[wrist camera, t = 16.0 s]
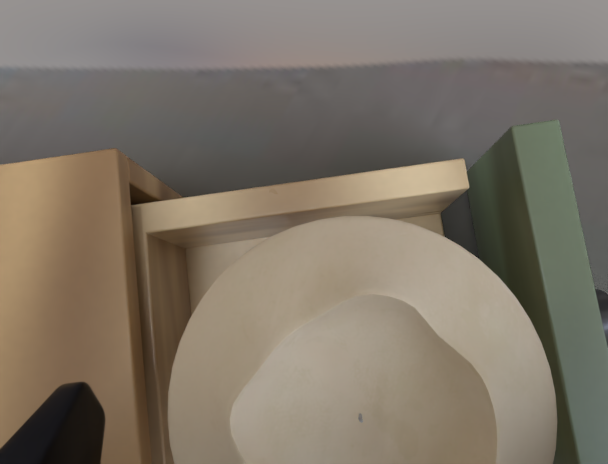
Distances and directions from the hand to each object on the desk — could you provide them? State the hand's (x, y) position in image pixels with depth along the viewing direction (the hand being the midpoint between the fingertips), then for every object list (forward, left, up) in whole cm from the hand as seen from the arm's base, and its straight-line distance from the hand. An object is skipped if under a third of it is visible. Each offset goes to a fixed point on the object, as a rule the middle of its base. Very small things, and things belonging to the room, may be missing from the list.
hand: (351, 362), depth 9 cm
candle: (0, 0, -7) cm, 7 cm away
